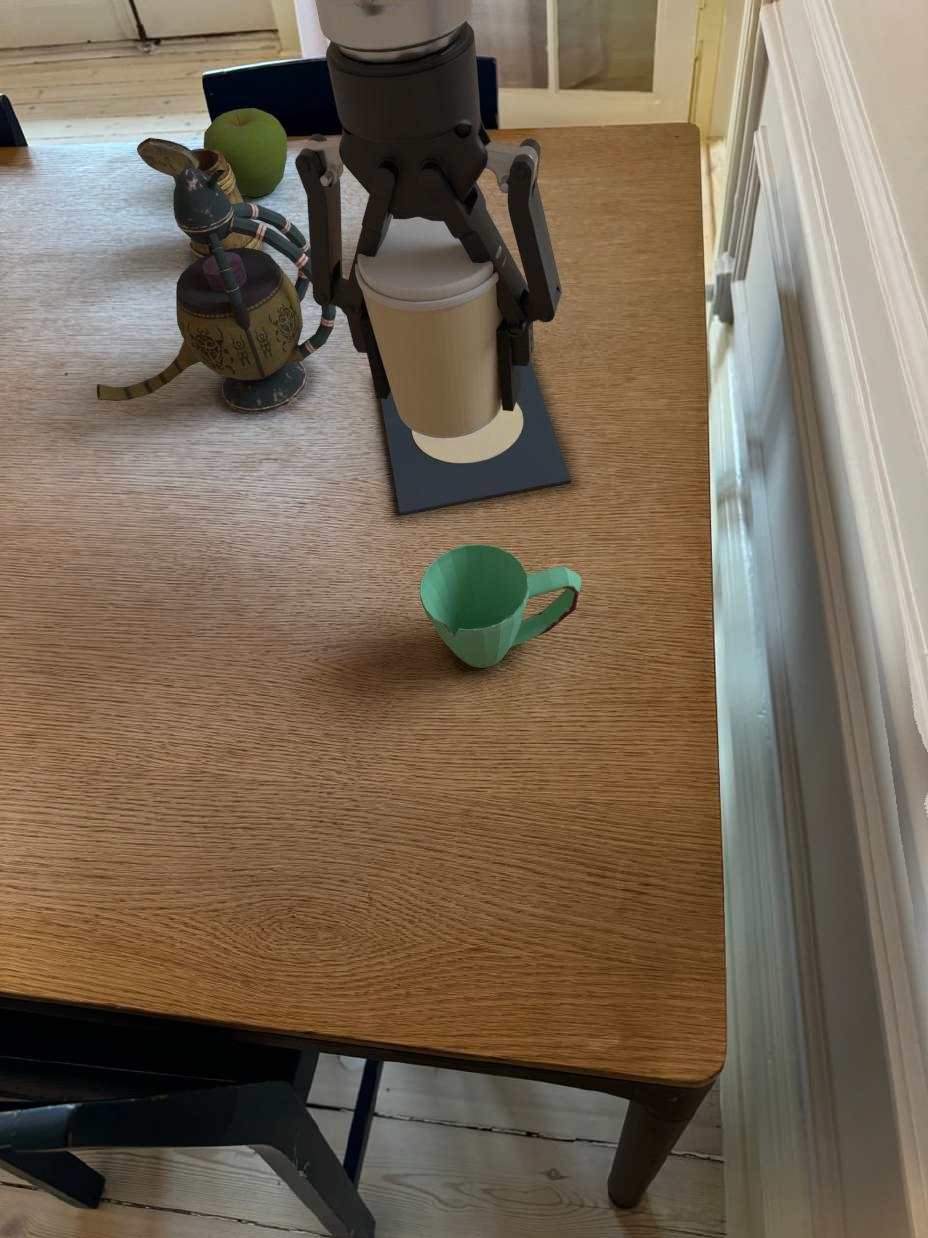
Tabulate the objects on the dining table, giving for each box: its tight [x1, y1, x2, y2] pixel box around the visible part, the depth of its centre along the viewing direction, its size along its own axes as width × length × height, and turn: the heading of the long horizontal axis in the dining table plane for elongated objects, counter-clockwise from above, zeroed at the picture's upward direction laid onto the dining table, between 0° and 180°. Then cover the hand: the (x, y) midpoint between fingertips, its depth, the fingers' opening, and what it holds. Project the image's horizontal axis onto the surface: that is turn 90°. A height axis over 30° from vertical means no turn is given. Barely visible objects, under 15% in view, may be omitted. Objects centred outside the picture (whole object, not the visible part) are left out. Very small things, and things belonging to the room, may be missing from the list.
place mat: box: [380, 360, 572, 516], centre depth 84 cm, size 20×16×1 cm
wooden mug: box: [136, 137, 263, 263], centre depth 98 cm, size 9×14×18 cm, turn 173°
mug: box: [419, 543, 582, 669], centre depth 65 cm, size 12×8×8 cm, turn 99°
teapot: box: [96, 165, 337, 414], centre depth 81 cm, size 12×25×23 cm, turn 111°
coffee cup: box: [355, 217, 506, 438], centre depth 56 cm, size 9×9×12 cm
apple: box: [202, 107, 288, 198], centre depth 111 cm, size 11×10×10 cm
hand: (448, 391), depth 61 cm, fingers closed on coffee cup, 8 cm apart
